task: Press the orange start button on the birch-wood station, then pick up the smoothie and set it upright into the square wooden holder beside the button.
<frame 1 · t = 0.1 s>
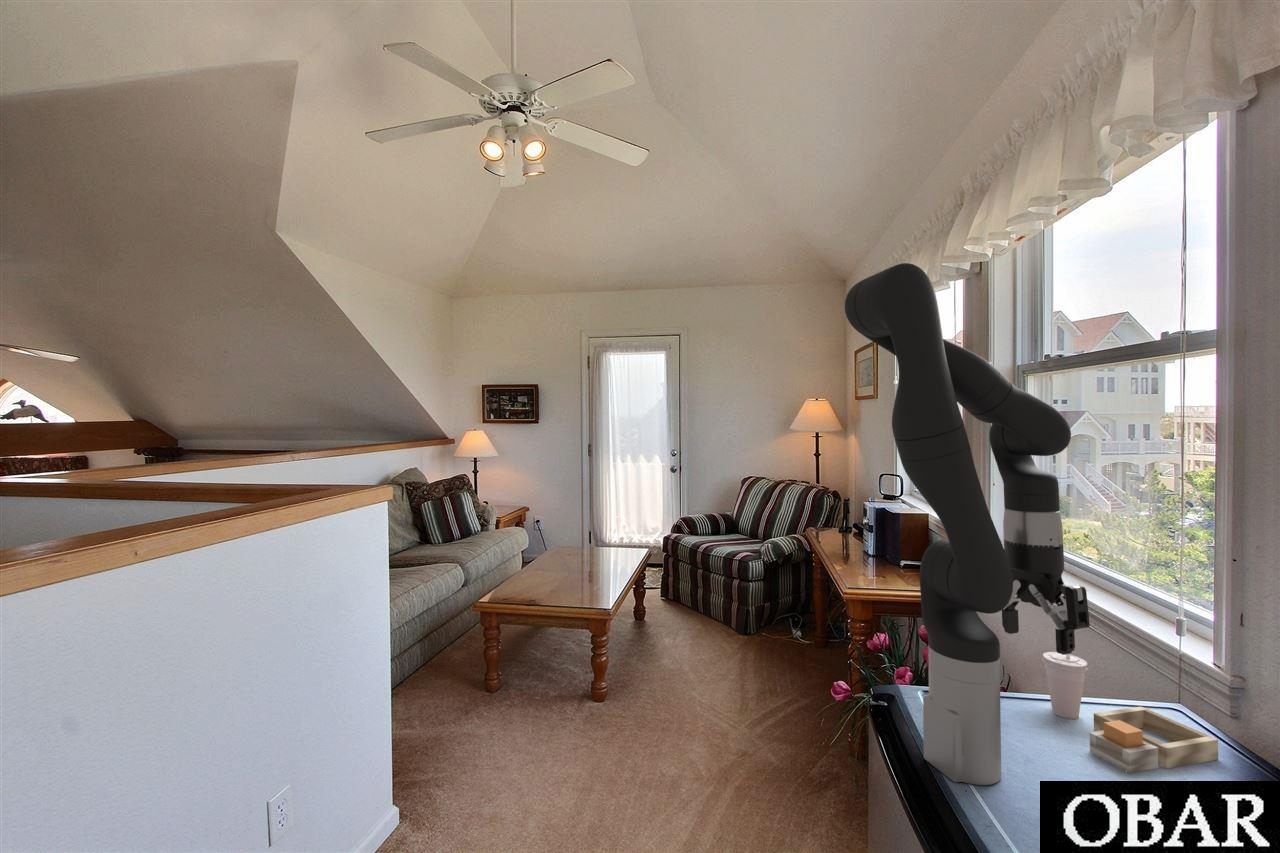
hand: (1036, 642, 84), 17 cm above the table, tool pointing down, fingers open, 8 cm apart
start button: (1122, 734, 83), point 4 cm above the table, slide at 0.0 cm
station: (1153, 744, 87), on the table
smoothie: (1065, 714, 96), on the table
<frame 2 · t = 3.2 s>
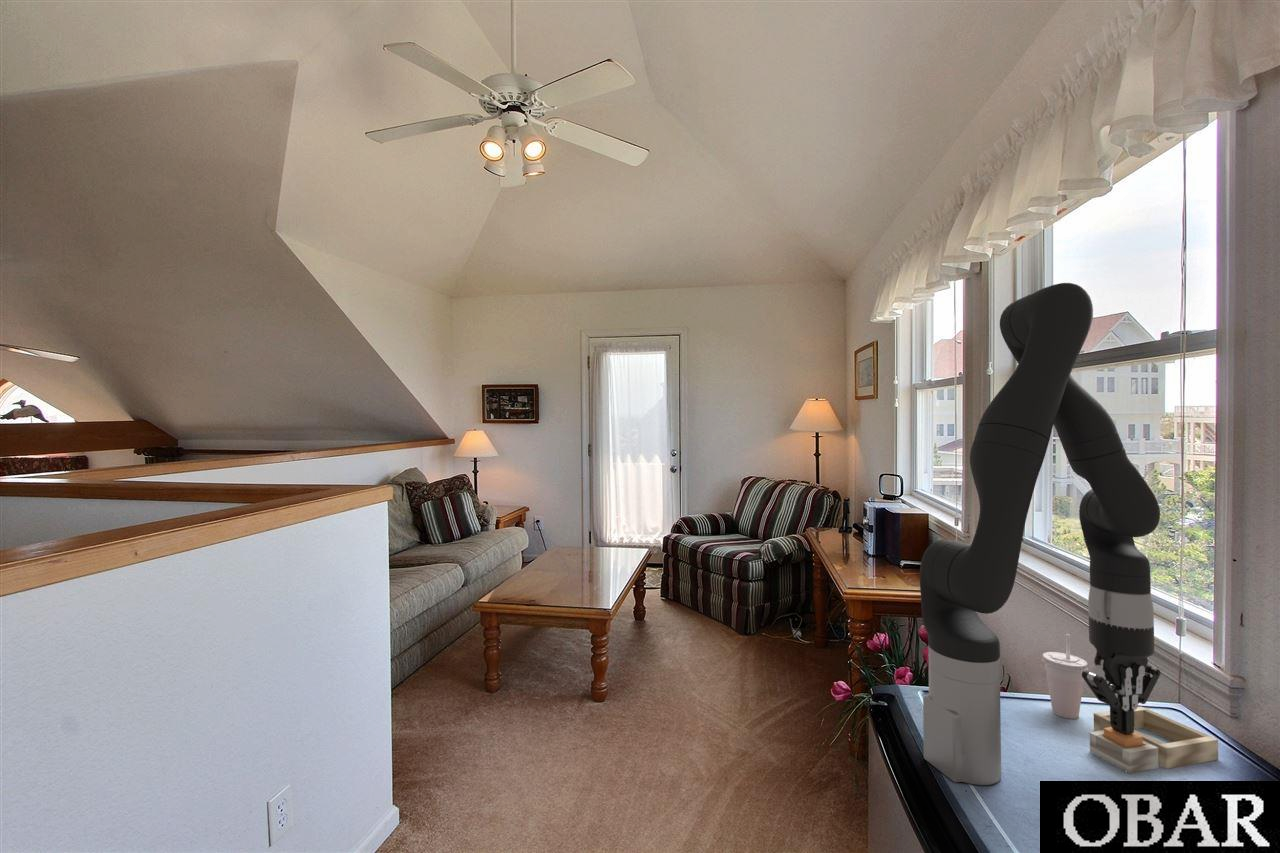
hand: (1122, 731, 83), 4 cm above the table, tool pointing down, fingers closed
start button: (1123, 740, 83), point 3 cm above the table, slide at 0.9 cm, touching gripper
everything else where it was.
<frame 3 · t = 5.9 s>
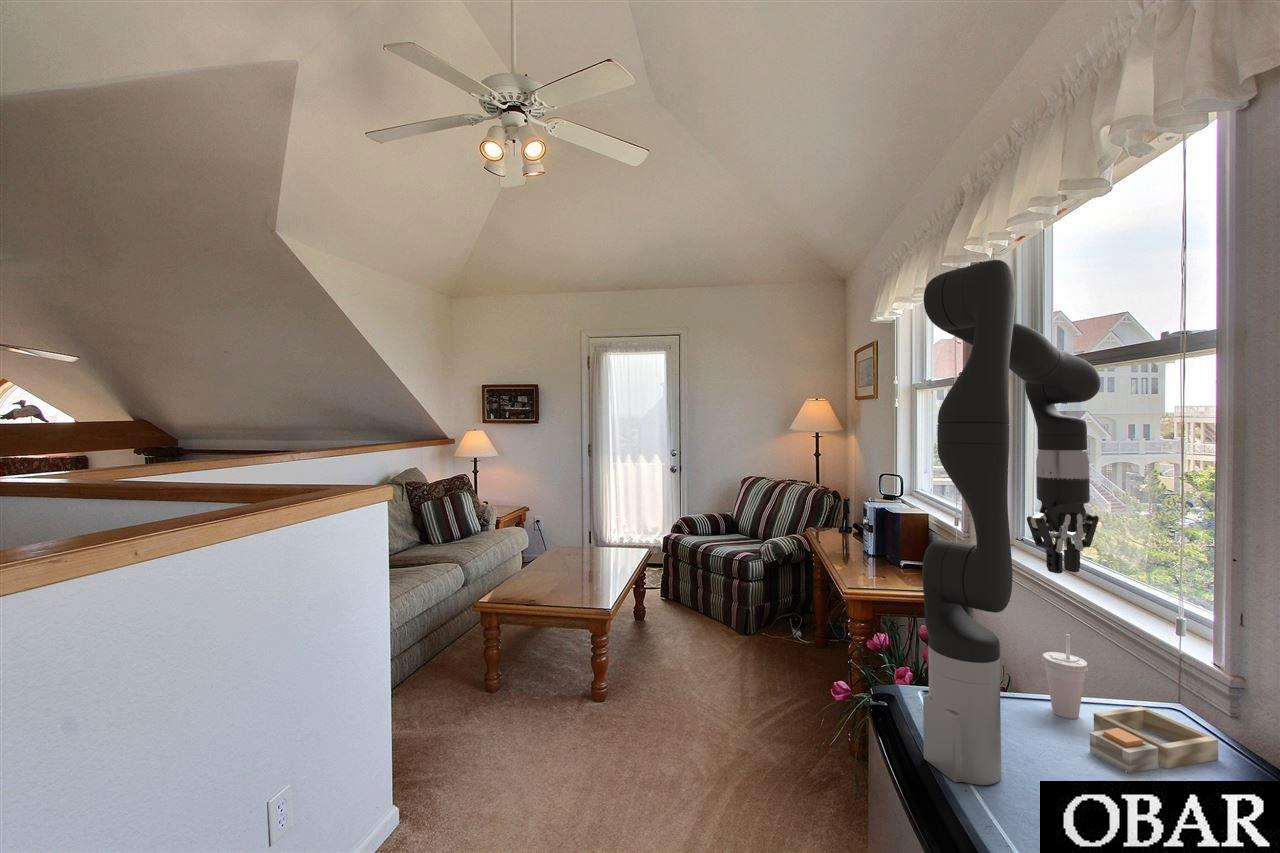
hand: (1063, 571, 97), 25 cm above the table, tool pointing down, fingers open, 3 cm apart
start button: (1123, 743, 83), point 2 cm above the table, slide at 1.3 cm
everything else where it was.
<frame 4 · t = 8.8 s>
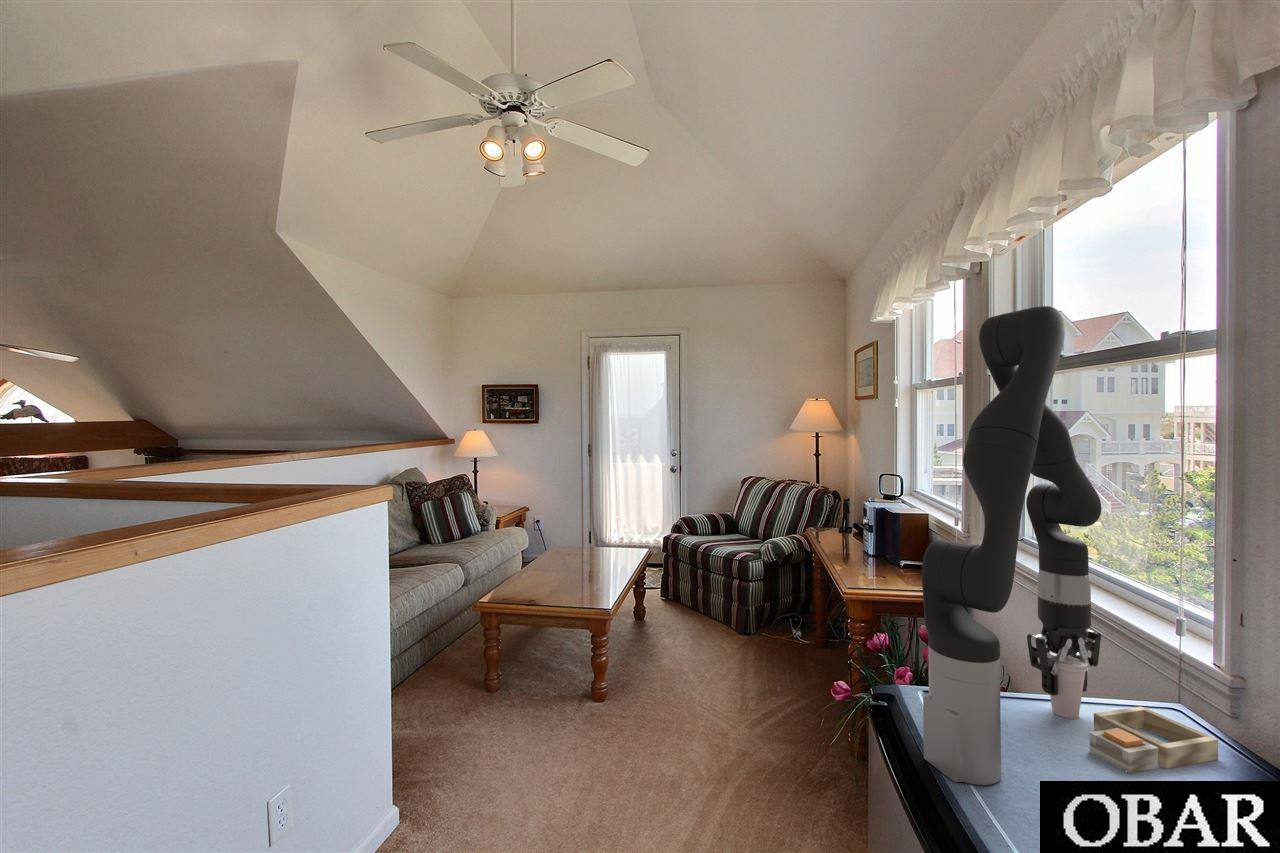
hand: (1064, 691, 97), 4 cm above the table, tool pointing down, fingers closed on smoothie, 5 cm apart
smoothie: (1065, 714, 96), on the table, touching gripper
everything else where it was.
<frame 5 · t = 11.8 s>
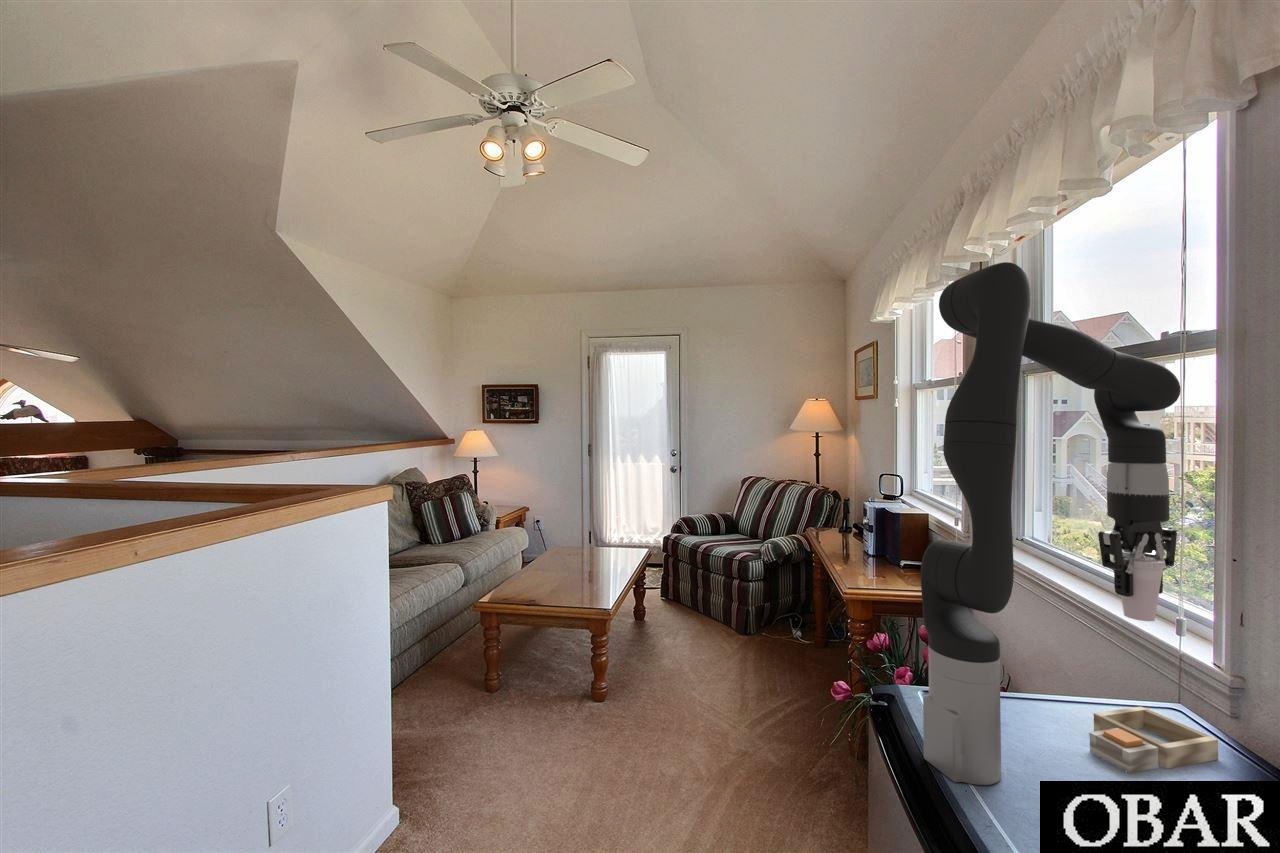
hand: (1139, 593, 88), 24 cm above the table, tool pointing down, fingers closed on smoothie, 5 cm apart
smoothie: (1139, 618, 88), point 20 cm above the table, touching gripper
everything else where it was.
when the fingers open (5 cm above the table, at t = 14.8 s): smoothie drops 1 cm, resting in station.
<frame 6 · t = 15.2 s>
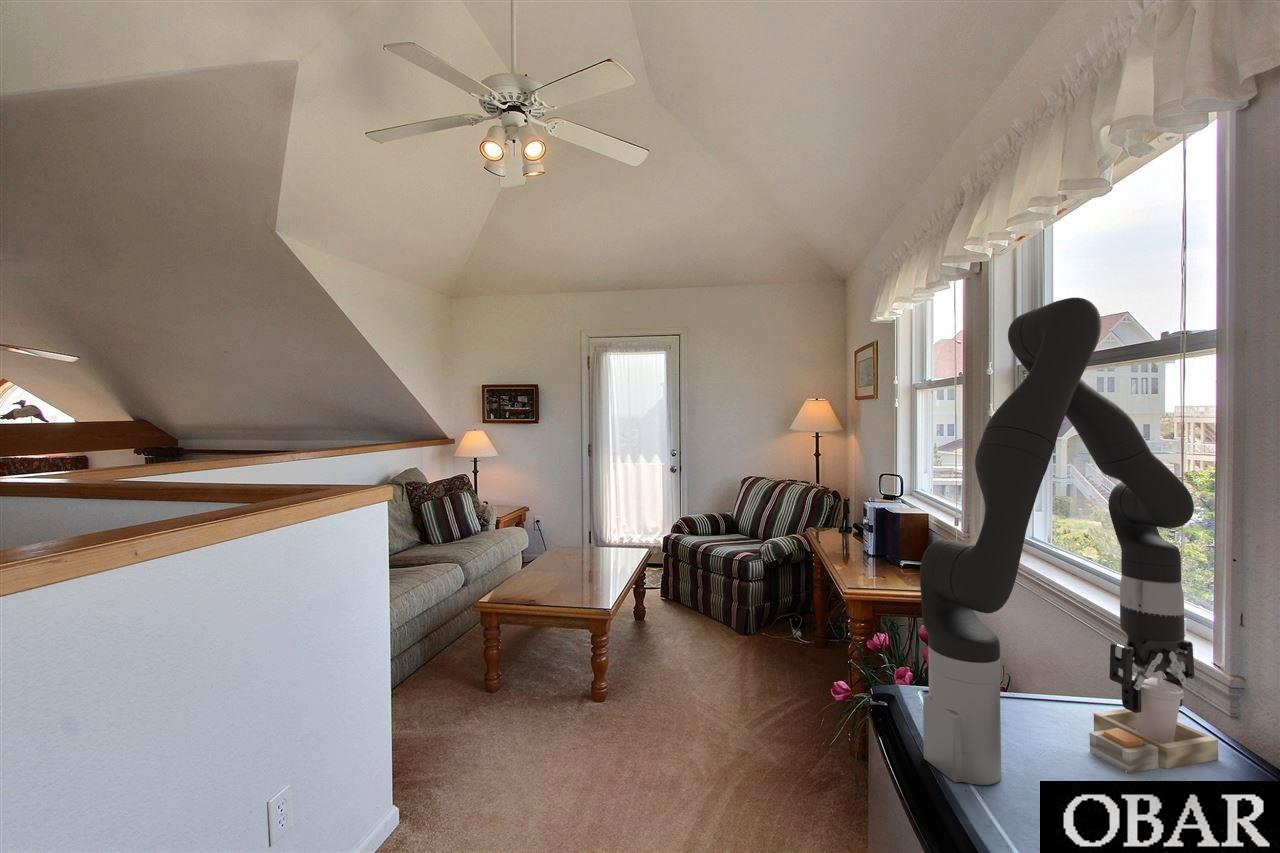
hand: (1152, 707, 87), 6 cm above the table, tool pointing down, fingers open, 8 cm apart
smoothie: (1156, 746, 87), resting in station
everything else where it was.
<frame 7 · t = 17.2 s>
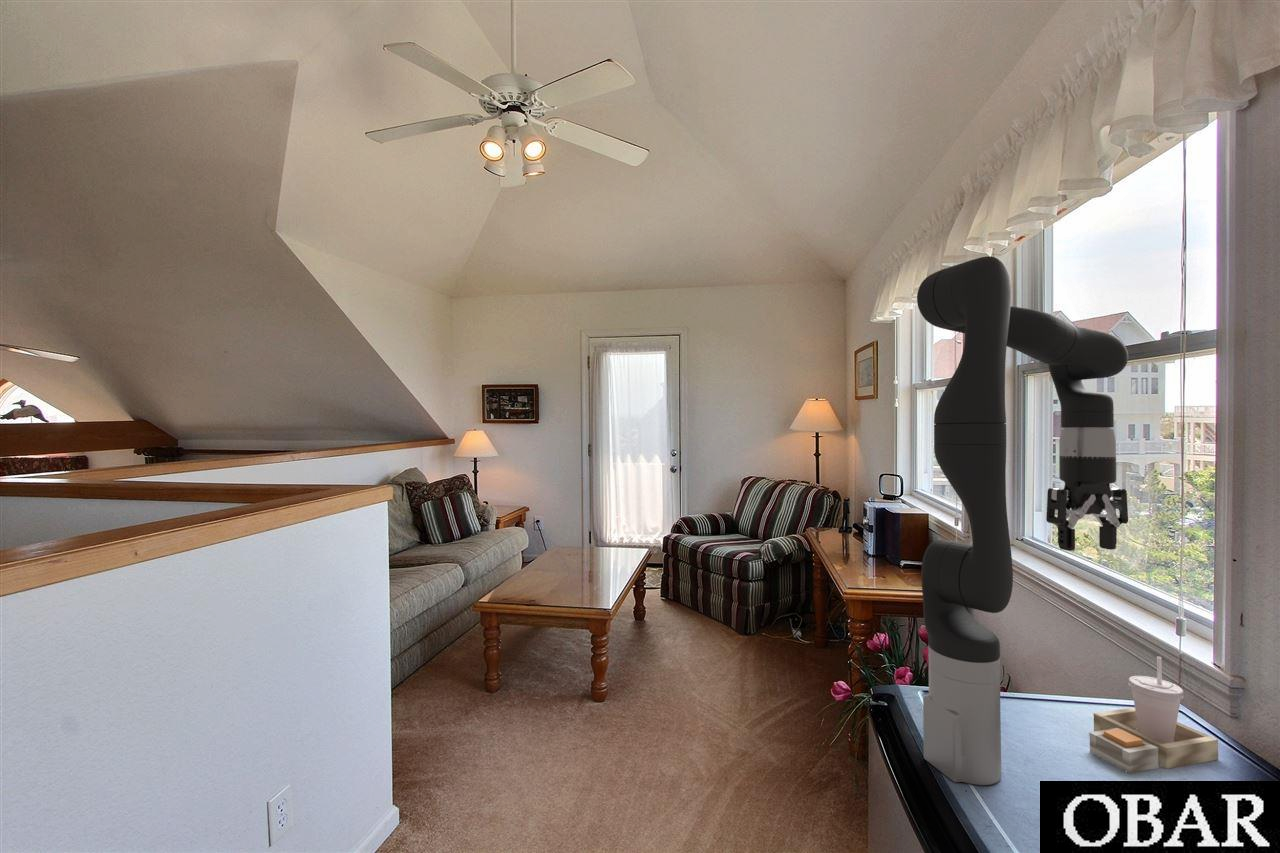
hand: (1087, 549, 93), 30 cm above the table, tool pointing down, fingers open, 8 cm apart
nothing on the table moved.
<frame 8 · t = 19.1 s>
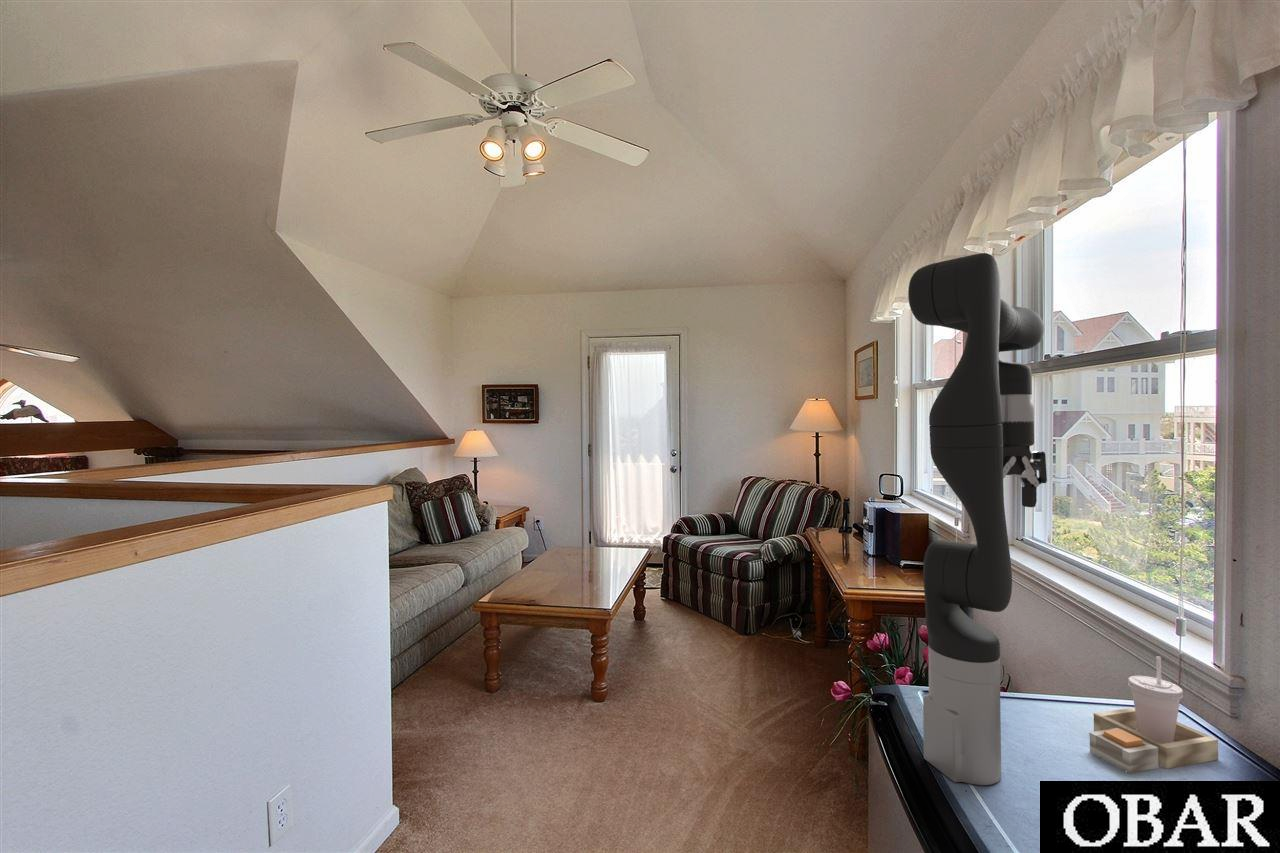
hand: (1010, 507, 101), 36 cm above the table, tool pointing down, fingers open, 8 cm apart
nothing on the table moved.
at the end: start button slide at 1.3 cm; smoothie 0.4 cm off-centre on the station, point 0.0 cm above the station's base; smoothie tilted 0° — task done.
